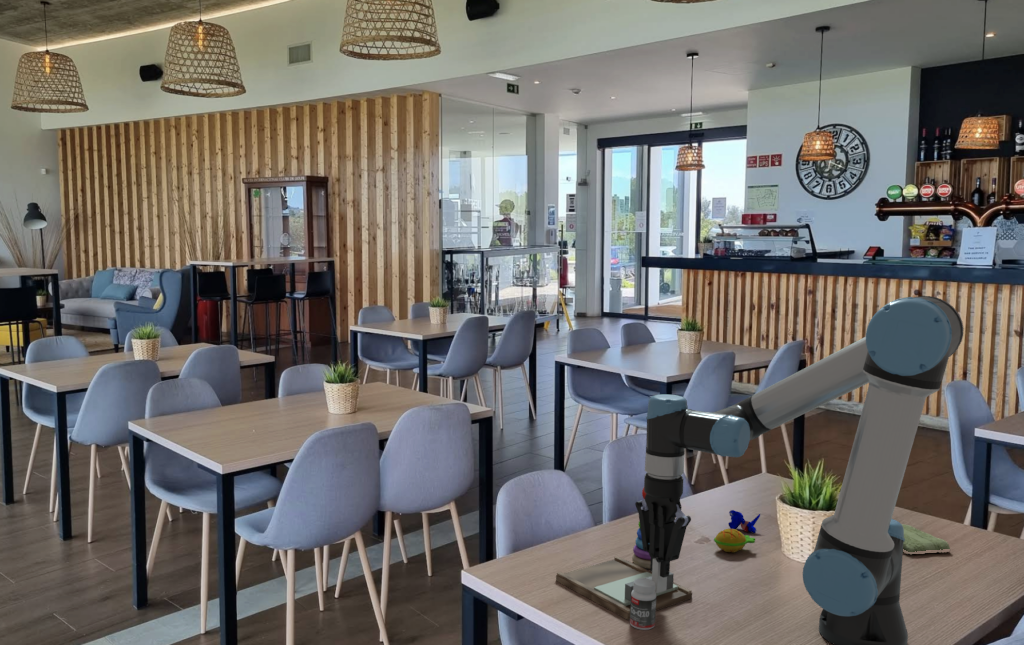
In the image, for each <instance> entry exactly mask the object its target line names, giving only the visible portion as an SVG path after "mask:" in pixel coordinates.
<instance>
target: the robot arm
mask: <svg viewBox="0 0 1024 645" xmlns="http://www.w3.org/2000/svg"><path fill="white" fill-rule="evenodd" d="M964 328H965V327H964V324H963V319H962V318H961V315H960V314H959V312H958V310H956V309H955V308H954V306H953V305H951V304H950V303H948V302H947V301H946V300H943V299H941V298H939V297H936V296H930V295H921V296H908V297H907V296H906V297H901V298H897V299H894V300H892V301H890V302H887V303H886V304H885V305H883V306H882V307H881V308H880V309H879V310H877V311H876V312H875V313H874V315H873V316H872V317H871V319H870V320H869V322H868V325H867V327H866V330H865V336H864V337H862V338H861V339H858V340H857V341H855V342H853V343H851V344H848V345H846V346H845V347H843V348H841V349H839V350H837V351H836V352H833V353H831V354H829V355H828V356H825V357H823V358H822V359H820V360H818V361H816V362H814V363H812V364H810V365H808V366H806V367H805V368H802V369H801V370H798V371H797V372H795V373H793V374H791V375H789V376H787V377H785V378H784V379H781V380H779V381H777V382H776V383H774V384H772V385H770V386H768V387H766V388H764V389H762V390H760V391H759V392H756V393H755V394H753V395H750V396H748V397H747V398H745V399H742V400H741V401H739V402H736V403H735V404H733V405H731V406H728V407H726V408H725V407H724V408H722V409H719V410H716V411H714V412H708V411H700V410H694V409H691V408H689V407H688V406H689V405H688V400H687V399H686V398H685V396H680V395H678V394H676V395H675V394H661V393H660V394H656V395H652V396H651V397H650V398H649V399H648V404H647V413H646V416H645V417H646V418H645V419H646V440H645V443H646V446H645V457H644V458H645V460H644V471H645V474H644V480H643V481H644V482H643V488H644V491H645V493H646V495H645V499H644V498H643V499H642V500H639V501H638V500H637V501H635V504H634V505H635V507H636V510H637V513H638V520H639V521H640V529H641V537H642V545H643V550H644V551H645V552H646V551H647V552H648V553H649V555H650V557H651V565H650V569H649V571H651V572H652V580H653V581H654V582H655V591H654V592H655V593H659V592H662V591H666V589H667V576H669V572H671V570H670V568H671V562H672V561H676V560H678V559H679V558H680V554H681V550H682V547H683V542H684V538H685V535H686V530H687V527H688V525H690V523H691V521H692V518H691V516H690V515H686V514H685V513H684V512H683V511H682V504H681V498H682V495H683V494H684V477H683V474H684V471H685V453H686V449H687V450H693V451H697V452H702V453H707V454H712V455H716V456H720V457H729V458H730V457H731V458H740V457H742V456H743V455H744V454H745V452H746V451H747V449H748V447H749V444H750V441H753V440H754V439H757V438H759V437H760V436H762V435H764V434H766V433H768V432H770V431H771V430H773V429H775V428H776V429H777V428H778V427H780V426H782V425H784V424H786V423H788V422H791V421H792V420H794V419H797V418H798V417H800V416H802V415H805V414H807V413H809V412H811V411H813V410H815V409H817V408H819V407H821V406H823V405H826V404H828V403H830V402H832V401H834V400H837V399H838V398H840V397H842V396H844V395H847V394H848V393H850V392H853V391H855V390H858V389H859V388H860V387H861V388H862V387H863V386H865V385H867V384H868V388H867V391H866V395H865V398H864V399H865V400H864V402H863V407H862V410H861V414H860V417H859V421H858V425H857V429H856V431H855V435H854V440H853V443H852V446H851V451H850V454H849V458H848V462H847V466H846V469H845V474H844V476H843V480H842V484H841V487H840V492H839V495H838V499H837V502H836V506H835V511H834V514H832V515H830V516H828V517H825V518H823V520H822V522H821V525H820V529H819V532H818V536H817V539H816V543H815V547H814V550H813V552H812V553H810V554H809V555H808V557H807V558H806V560H805V562H804V565H803V568H802V581H803V584H804V587H805V590H806V592H808V595H809V596H810V598H811V599H812V600H813V602H814V603H815V604H816V605H818V607H820V608H822V611H821V613H820V615H819V618H818V619H819V621H818V632H819V633H820V635H821V636H822V638H823V639H825V640H826V641H827V642H829V643H830V644H832V645H908V641H909V640H908V638H909V633H908V632H909V631H908V629H907V626H906V622H905V617H904V616H903V612H902V607H901V603H900V599H901V598H900V596H901V585H902V584H901V583H902V570H903V569H902V568H903V556H904V553H903V542H904V541H905V538H904V529H903V526H902V524H903V523H901V522H900V521H898V520H896V519H893V514H894V511H895V508H896V505H897V501H898V498H899V497H898V496H899V493H900V490H901V487H902V483H903V480H904V476H905V473H906V469H907V466H908V463H909V458H910V455H911V451H912V448H913V445H914V442H915V437H916V434H917V432H918V427H919V423H920V420H921V416H922V413H923V410H924V406H925V402H926V399H927V397H929V396H931V395H932V394H934V393H936V392H937V393H938V392H939V391H940V389H941V385H942V382H943V379H944V375H945V372H946V369H947V365H948V362H949V359H950V357H951V356H953V355H954V354H955V353H956V352H957V351H958V349H959V348H960V346H961V343H962V342H963V337H964V330H965V329H964ZM639 521H638V522H639ZM648 543H649V544H648Z"/></svg>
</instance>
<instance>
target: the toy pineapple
mask: <svg viewBox="0 0 1024 645" xmlns="http://www.w3.org/2000/svg"><path fill="white" fill-rule="evenodd" d="M713 541H714V542H715V544H716V546H717V547H718V548H719V549H720V550H721V551H724V552H726V553H736V552H739V551H741V550H743V548H744V547H745V546H746V545H747V544H755V543H756V538H755V537H751V536H750V535H746V534H745V535H744V534H743V533H742V532H741V531H739V530H738V529H731V528H725V529H723V530H721V531H719V532H718V533H717V534H716V536H715V537H714V539H713Z"/></svg>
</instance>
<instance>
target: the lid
mask: <svg viewBox="0 0 1024 645" xmlns="http://www.w3.org/2000/svg"><path fill="white" fill-rule="evenodd" d="M674 575H675V574H674V573H673V572H671V571H670V572H669V576H667V589H666V591H662V592H659V593H656V596H658V595H661V594H664V593H667V592H671V591H674V590H677V589H678V586H676V585H674V584H673V582H674V577H675V576H674ZM639 578H647V579H650V580H652V574H651V573H649V572H644V573H641V574H637V575H634V576H631V577H627V578H624V579H620V580H617V581H614V582H610V583H607V584H604V585H600V586H597V587H594V590H596V591H598V592H600V593H601V594H603V595H605V596H607V597H609V598H611V599H613V600H615V601H617V602H618V603H620V604H622V605H624V606H627V605H630V604H631V592H632V590H634V589H633V586H634V580H636V579H639Z"/></svg>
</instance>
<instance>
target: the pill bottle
mask: <svg viewBox="0 0 1024 645" xmlns="http://www.w3.org/2000/svg"><path fill="white" fill-rule="evenodd" d="M633 589H634V590H632V592H631V608H630V619H629V624H630V626H631V627H633V628H635V629H637V630H641V631H648V630H652V629H654V628H655V626H656V614H657V613H656V611H657V610H656V593H655V592H654V591H655V582H654V581H653V580H650V579H647V578H639V579H636V580H634V586H633Z"/></svg>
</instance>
